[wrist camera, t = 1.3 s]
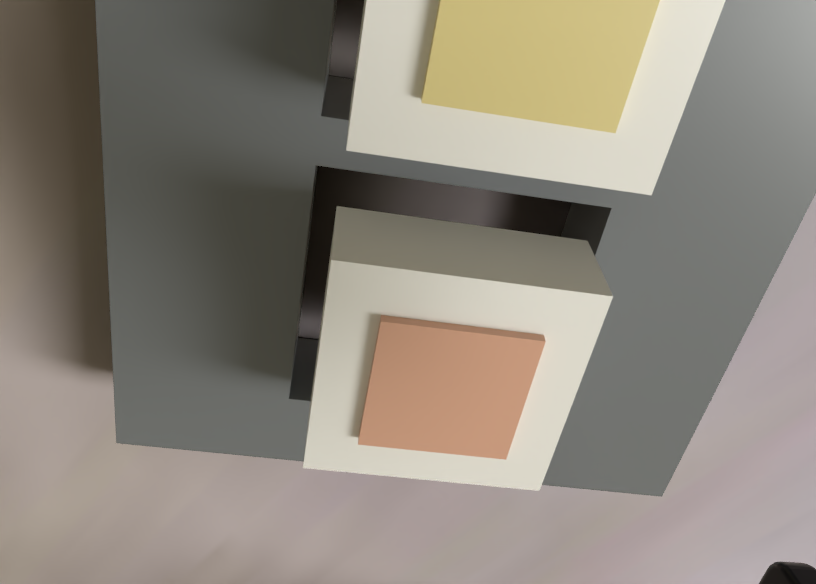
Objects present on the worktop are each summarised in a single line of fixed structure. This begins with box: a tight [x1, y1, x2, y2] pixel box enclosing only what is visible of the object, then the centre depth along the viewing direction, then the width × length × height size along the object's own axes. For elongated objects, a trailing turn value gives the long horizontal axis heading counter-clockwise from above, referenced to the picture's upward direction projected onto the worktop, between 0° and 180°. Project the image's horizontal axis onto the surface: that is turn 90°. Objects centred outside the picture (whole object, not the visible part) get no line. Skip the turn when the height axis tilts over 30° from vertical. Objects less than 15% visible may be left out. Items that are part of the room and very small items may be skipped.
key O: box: [303, 206, 613, 491], centre depth 15 cm, size 5×5×2 cm
